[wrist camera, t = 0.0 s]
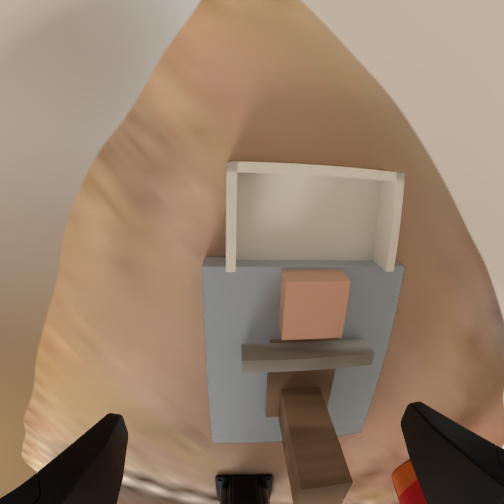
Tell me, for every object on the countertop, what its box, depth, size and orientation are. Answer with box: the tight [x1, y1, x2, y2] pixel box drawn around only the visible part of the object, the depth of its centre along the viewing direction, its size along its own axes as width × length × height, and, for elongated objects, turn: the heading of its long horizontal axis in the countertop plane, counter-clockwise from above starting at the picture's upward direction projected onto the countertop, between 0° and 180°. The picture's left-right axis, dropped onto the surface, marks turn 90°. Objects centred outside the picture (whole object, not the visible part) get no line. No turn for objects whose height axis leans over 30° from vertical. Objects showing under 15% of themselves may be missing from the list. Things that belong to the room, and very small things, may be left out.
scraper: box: [241, 338, 375, 504], centre depth 18 cm, size 7×9×10 cm
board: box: [202, 257, 405, 443], centre depth 24 cm, size 17×14×2 cm
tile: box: [278, 270, 351, 340], centre depth 20 cm, size 4×4×2 cm
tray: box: [226, 161, 405, 272], centre depth 20 cm, size 6×11×3 cm, turn 88°
